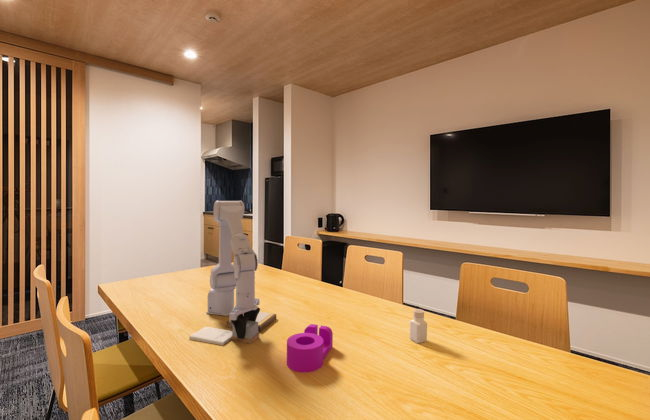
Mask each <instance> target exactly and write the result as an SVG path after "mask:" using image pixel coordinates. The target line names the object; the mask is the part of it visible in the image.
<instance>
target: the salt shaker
mask: <svg viewBox="0 0 650 420" xmlns="http://www.w3.org/2000/svg"><path fill="white" fill-rule="evenodd" d="M424 318H425V311H424V310H423V309H421V308H420V309H419V308H415V309H413V319H411V320H410V321H409V339H410V340H411V341H412V342H414V343H416V344H421V343H424V342H427V340H428V322H427V321H426V320H425V319H424Z"/></svg>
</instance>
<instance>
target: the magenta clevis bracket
mask: <svg viewBox="0 0 650 420" xmlns="http://www.w3.org/2000/svg"><path fill="white" fill-rule="evenodd" d="M318 326H319V325H318V324H313V323H310V324H309V325H307V326H306V327H305V328H304V332H298V333H295V334H293V335H290V336H289V337H287V339H286V366H287V367H288V369H289V370H291V371H293V372H297V373H302V374H303V373H312V372H315V371H318V370H319V369H321V368H322V367H323V365H324V360H325V358H326V357H327V355H328V354H329V353H330V351H331V350H332V349H333V345H334V344H333V343H334V341H333V337H334V336H333V335H334V334H333V333H334V332H333V330H332V329H331V327H329V326H327V325H320V327H318Z"/></svg>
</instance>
